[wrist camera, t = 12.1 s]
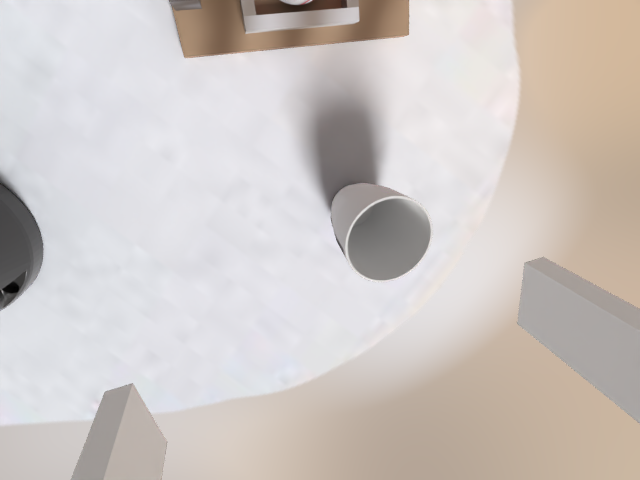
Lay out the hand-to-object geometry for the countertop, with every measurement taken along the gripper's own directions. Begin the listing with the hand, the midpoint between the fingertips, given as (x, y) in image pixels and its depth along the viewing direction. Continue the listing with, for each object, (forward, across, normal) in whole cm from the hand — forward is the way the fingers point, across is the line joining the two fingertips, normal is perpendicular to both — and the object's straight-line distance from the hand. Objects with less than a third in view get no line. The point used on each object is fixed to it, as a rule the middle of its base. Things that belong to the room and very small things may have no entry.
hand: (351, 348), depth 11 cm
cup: (+26, +9, -6) cm, 28 cm away
